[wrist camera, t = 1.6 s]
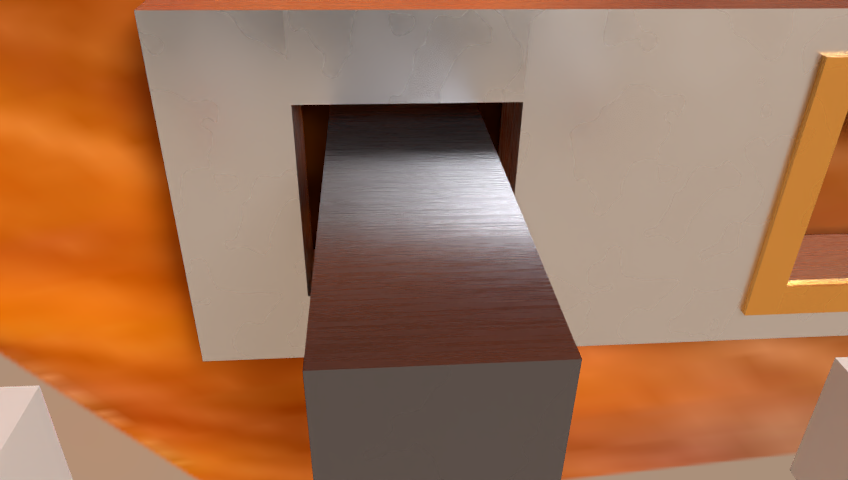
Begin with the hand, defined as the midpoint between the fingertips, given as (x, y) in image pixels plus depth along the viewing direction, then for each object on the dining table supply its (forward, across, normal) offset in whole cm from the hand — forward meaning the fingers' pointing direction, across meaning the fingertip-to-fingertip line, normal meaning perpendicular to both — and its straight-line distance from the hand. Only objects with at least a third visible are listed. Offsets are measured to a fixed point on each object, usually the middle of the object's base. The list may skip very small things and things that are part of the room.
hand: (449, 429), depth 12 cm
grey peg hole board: (+10, +7, 0) cm, 12 cm away
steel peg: (+10, 0, 0) cm, 10 cm away
